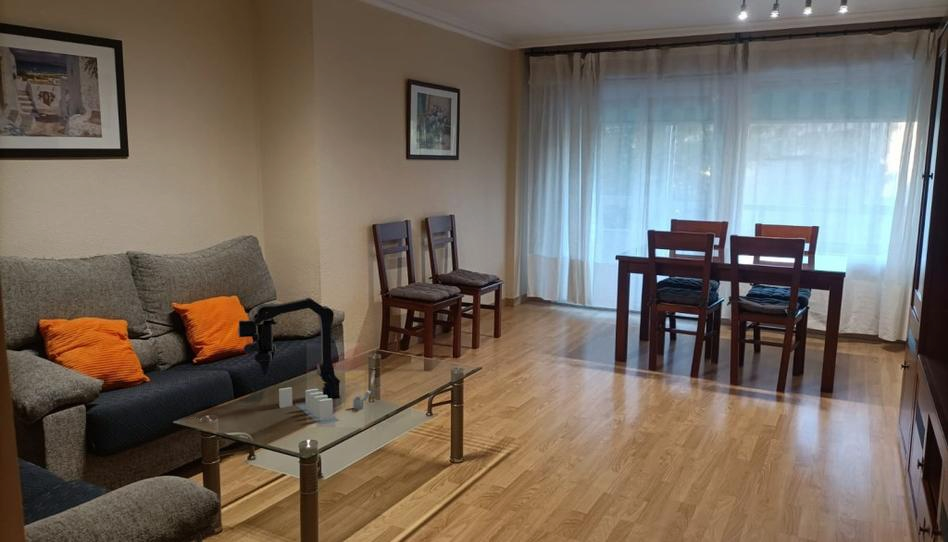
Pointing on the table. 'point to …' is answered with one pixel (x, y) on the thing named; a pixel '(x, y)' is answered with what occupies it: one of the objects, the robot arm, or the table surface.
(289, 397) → the tile
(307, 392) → the tile
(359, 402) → the lighter
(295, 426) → the table surface
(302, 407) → the runner
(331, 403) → the tile
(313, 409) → the tile
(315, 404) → the tile
